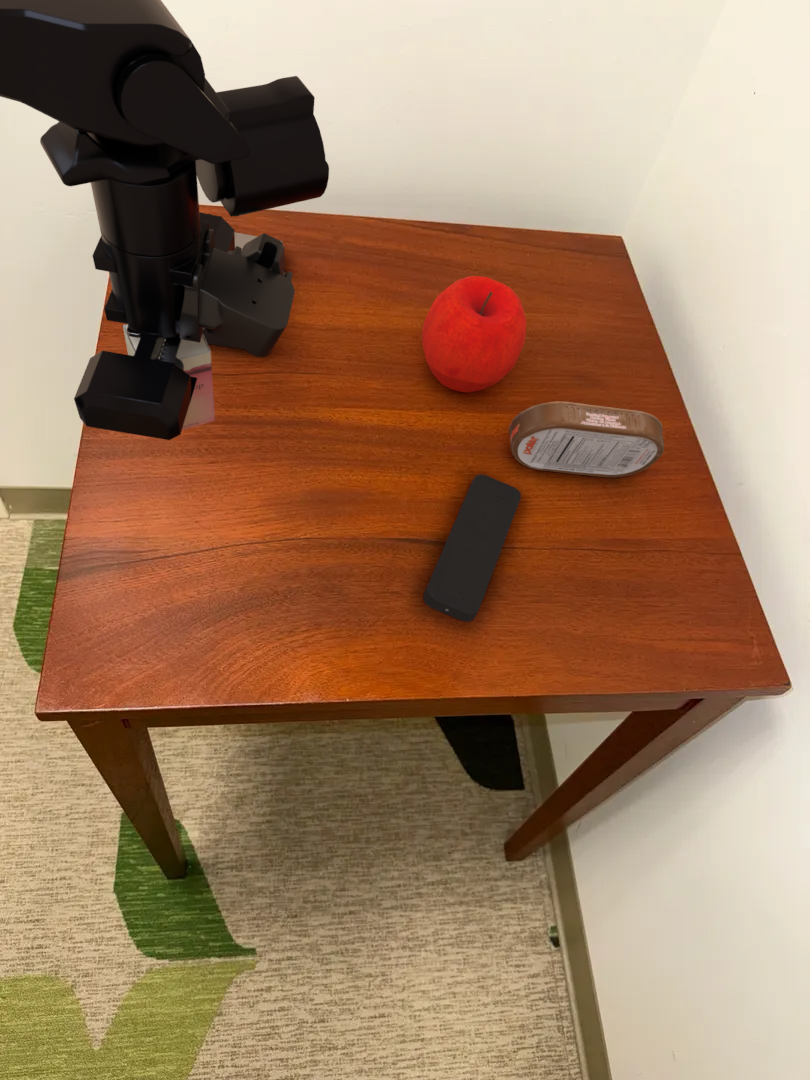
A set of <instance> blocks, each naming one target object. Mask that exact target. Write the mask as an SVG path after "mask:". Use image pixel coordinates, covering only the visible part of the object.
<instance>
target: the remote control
mask: <svg viewBox="0 0 810 1080" xmlns="http://www.w3.org/2000/svg"><path fill="white" fill-rule="evenodd" d="M521 494H522V493H521V492H520V490H519V489H518V488H516V487H514V486H512V485H510V484H509V483H508V484H507V483H506V482H504V481H501V480H499V479H496V478H495V477H491V476H489V475H487V474H477V475H475V477H473V479H472V481H471V483H470V484H469V488H468V490H467V492H466V494H465V497H464V499H463V501H462V504H461V506H460V508H459V511H458V513H457V515H456V518H455V520H454V521H453V525H452V527H451V530H450V531H449V533H448V537H447V538H446V541H445V543H444V546H443V548H442V550H441V552H440V554H439V556H438V557H439V558H438V560H437V562H436V564H435V567H434V569H433V571H432V573H431V577H430V578H429V581H428V583H427V585H426V588H425V590H424V592H423V598H422V599H423V601H424V603H425V605H426V606H428V607H429V608H430V609H433V610H436V611H438V612H440V613H443V614H444V615H447V616H449V617H452V618H453V619H457V620H458V621H461V622H466V623H469V622H472V621H474V620H475V619H476V618H477V615H478V613H479V610H480V608H481V605H482V603H483V600H484V598H485V595H486V592H487V590H488V587H489V584H490V581H491V579H492V576H493V574H494V571H495V568H496V565H497V563H498V561H499V557H500V554H501V553H502V549H503V547H504V544H505V542H506V539H507V536H508V533H509V530H510V528H511V525H512V523H513V520H514V518H515V514H516V512H517V509H518V506H519V504H520V501H521V499H522V495H521Z"/></svg>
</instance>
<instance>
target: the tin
mask: <svg viewBox="0 0 810 1080" xmlns="http://www.w3.org/2000/svg"><path fill="white" fill-rule="evenodd" d="M663 427H664V426H663V424H662V422H661V420H660V419H659V418H658V417H656V416H655V415H654V414H651V413H649V412H646V411H642V410H635V409H629V408H628V409H627V408H620V407H611V406H603V405H595V404H587V403H579V402H572V401H564V400H563V401H562V400H560V401H559V400H558V401H547V402H542V403H538V404H535V405H531V406H529V407H527V408H526V409H523V410H522V411H520V412H519V413H518V414H516V416H514V418H513V419H512V420H511V422H510V424H509V426H508V436H509V444H510V451H511V454H512V456H513V458H514V459H515V461H516V462H517V463H519V464H520V465H522V466H524V467H526V468H528V469H530V470H535V471H541V472H542V471H544V472H552V473H562V474H569V475H578V476H579V475H581V476H590V477H597V478H598V477H599V478H608V479H609V478H611V479H612V478H623V477H629V476H633V475H636V474H639V473H641V472H644V471H645V470H648V469H649V468H650V467H651V466H652V465H654V464H655V463H656V462H657V461H658V460H659V459H660V458H661V456H663V453H664V451H665V441H664V434H663V431H664V428H663Z"/></svg>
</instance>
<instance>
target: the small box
mask: <svg viewBox="0 0 810 1080" xmlns="http://www.w3.org/2000/svg"><path fill="white" fill-rule="evenodd" d="M127 327H128V324H125V323H124V324H123V326H122V329H123V334H124V335H123V336H124V341H125V344H126V345H125V346H126V352H127V355H131V356H134V354H135V351H136V349H137V346H138V343H139V340H140V338H136V337H130V336H128V334H127ZM165 341H166V340H165ZM163 346H164V344H163ZM162 350H163V349H162ZM160 354H161V353H160ZM177 358H178V359H180V360H181V361H182V362H183V364H184V371H185V372H186V373H187V374H189V375H190V377H196V378H197V381H196V385H195V388H194V392H193V395H192V398H191V402H190V405H189V407H188V411H187V414H186V418H185V421H184V424H183V428H182V431H185V430H188V429H192V428H195V427H199V426H202V425H205V424H210V423H213V422H215V421H216V410H215V398H214V397H215V396H214V384H213V383H214V382H213V380H214V379H213V368H212V367H213V365H212V351H211V348H210V346H209V344H207V341H206V339H205V337H204V335H203V334H202V337H201V341H200V343H199V342H194V341H188V340H182V343H181V346H180V349H179V352H178V355H177ZM159 359H160V357H159Z"/></svg>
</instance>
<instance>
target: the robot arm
mask: <svg viewBox="0 0 810 1080" xmlns="http://www.w3.org/2000/svg"><path fill="white" fill-rule="evenodd" d="M203 64H204V63H203V60H202V57H201V54H200V53H199V51H198V49H197V48H196V46H195V45H194V43H193V41H192V39H191V38H190V37H189V36H188V34H187V33H186V32H185V30H184V29H183V27H182V26H181V25H180V24H179V22H178V21H177V20H176V19H175V17H174V15H173V14H172V13H171V12H170V10H169V9H168V7H167V6H166V5H165V4H164V2H163V1H162V0H0V97H1V98H4V99H7V100H11V101H14V102H18V103H21V104H24V105H26V106H28V107H30V108H32V109H34V110H36V111H38V112H40V113H42V114H44V115H46V116H47V117H50V118H51V119H53V120H55V121H58V122H57V123H55V124H53V125H52V126H50V127H49V128H48V129H47V130H46V132H45V133H43V135H42V136H40V140H39V143H40V145H41V147H42V149H43V150H44V152H45V154H46V156H47V157H48V159H49V161H50V163H51V165H52V167H53V168H54V170H55V172H56V173H57V176H58V177H59V179H60V180H61V183H62V184H64V185H65V186H67V187H76V186H80V185H85V184H90V186H91V191H92V197H93V200H94V201H93V202H94V205H95V211H96V215H97V220H98V225H99V231H100V237H99V240H98V242H97V244H96V247H95V249H94V251H93V253H92V255H91V256H92V260H93V265H94V268H95V269H94V270H98V271H103V272H107V273H108V274H109V275H108V276H109V278H110V280H109V281H110V284H111V290H110V293H109V296H108V298H107V300H106V303H105V305H104V314H105V318H106V321H109V322H116V323H120V324H124V325H125V324H128V327H127V334H128V336H130V337H136V338H140V340H139V343H138V346H137V349H136V351H135V354H134V356H131V355H128V354H125V353H119V352H113V351H108V350H101V351H99V352H98V353H96V354H95V355H93V356H91V357H90V358H89V359H88V362H87V365H86V368H85V370H84V373H83V375H82V376H81V377H82V378H81V380H80V383H79V385H78V387H77V390H76V392H75V395H74V398H73V401H74V404H75V407H76V410H77V413H78V417H79V419H80V420H81V422H82V423H83V424H84V425H85V426H86V427H87V428H93V429H100V430H104V431H105V430H106V431H111V432H112V431H113V432H117V433H123V434H129V435H135V436H141V437H147V438H153V439H158V440H159V439H160V440H165V441H171V440H173V439H175V438H177V437H179V436H181V434H182V431H183V430H182V428H183V424H184V421H185V418H186V414H187V411H188V407H189V405H190V402H191V398H192V395H193V392H194V388H195V385H196V381H197V378H196V377H190V375H189V374H187V373H186V372H185V371H184V364H183V362H182V361H181V360H180V359H178V358H177V355H178V352H179V349H180V346H181V343H182V340H188V341H194V342H199V343H200V341H201V337H202V334H203V328H202V327H204V328H205V329H206V331H207V332H208V333H210V334H211V335H213V336H215V337H217V338H219V339H221V340H224V341H226V342H228V343H231V344H233V345H235V346H238V347H240V348H242V349H241V350H243V349H244V351H246V352H247V353H248V354H249V355H251V356H253V357H256V358H262V359H263V358H267V357H269V355H270V354H271V352H272V351H273V349H274V348H275V346H276V344H277V342H278V341H279V339H280V337H281V336H282V334H283V332H284V331H285V329H286V328H287V326H288V323H289V319H290V316H291V315H290V314H291V311H292V306H293V301H294V297H295V293H296V290H295V287H294V284H293V283H292V279H293V275H294V273H293V272H291V271H290V270H286V272H285V266H286V259H285V251H284V248H283V246H284V242H283V243H282V242H281V241H282V240H280V239H278V238H276V237H273V236H271V234H267V233H266V232H265V233H264V232H263V233H261V234H260V235H258V237H256V238H254V239H253V240H251V241H249V242H248V243H246V244H245V245H244V247H243V249H242V248H240V247H238V246H236V247H235V233H234V232H235V228H234V227H233V226H232V225H231V224H229V222H227V220H226V219H224V218H223V216H220V215H215V214H210V213H205V212H200V202H199V201H200V200H199V189H198V188H199V187H198V184H200V187H201V190H202V192H203V194H204V196H205V197H206V198H207V199H208V201H209V202H211V203H219V202H220V203H221V205H222V206H223V208H224V209H225V210H226V212H227V213H228V215H229V217H239V216H240V217H241V216H245V215H248V214H252V213H258V212H261V211H266V210H271V209H275V208H279V207H284V206H288V205H292V204H296V203H300V202H305V201H309V200H314V199H318V198H321V197H323V195H324V194H325V192H326V190H327V188H328V184H329V177H330V166H329V163H328V161H327V160H326V152H325V146H324V140H323V137H322V133H321V130H320V126H319V124H318V120H317V119H316V117H315V114H314V111H315V99H316V98H315V96H314V95H313V93H312V92H311V91H310V89H309V88H308V87H307V86H306V85H305V83H304V82H303V81H302V80H301V78H300V77H299V76H298V75H293V76H287V77H281V78H277V79H275V80H272V81H270V82H267V83H265V84H259V85H253V86H252V85H251V86H247V87H241V88H233V89H227V90H223V91H222V90H221V91H215V89H214V87H213V86H212V84H211V83H210V82H209V81H208V79H207V78H206V73H205V68H204V65H203ZM279 240H280V241H279ZM241 250H242V251H241ZM165 340H166V341H165ZM163 344H164V346H163ZM162 349H163V350H162ZM160 353H161V354H160ZM159 357H160V359H159Z"/></svg>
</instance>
